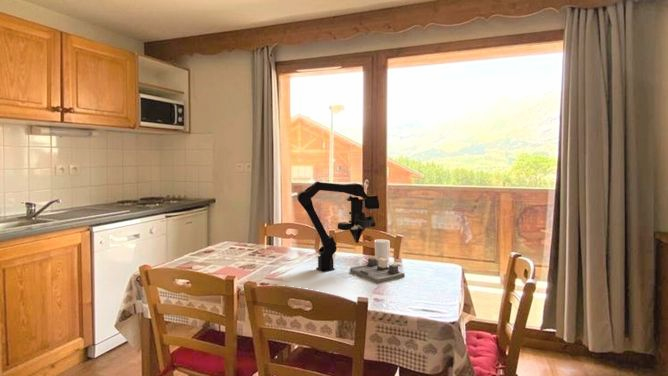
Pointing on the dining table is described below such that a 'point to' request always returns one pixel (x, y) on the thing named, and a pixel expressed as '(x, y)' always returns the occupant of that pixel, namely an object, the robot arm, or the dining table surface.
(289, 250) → the dining table surface
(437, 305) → the dining table surface
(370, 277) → the breaker panel
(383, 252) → the white cup
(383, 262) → the breaker
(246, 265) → the dining table surface
